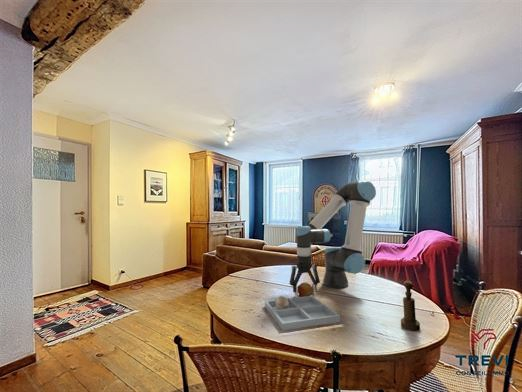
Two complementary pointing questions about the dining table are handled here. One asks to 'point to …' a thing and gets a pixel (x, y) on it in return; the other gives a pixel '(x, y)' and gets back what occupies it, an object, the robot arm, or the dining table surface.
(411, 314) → the dark tall piece
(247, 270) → the dining table surface
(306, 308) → the tray
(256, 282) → the dining table surface
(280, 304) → the wooden ball
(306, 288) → the apple
